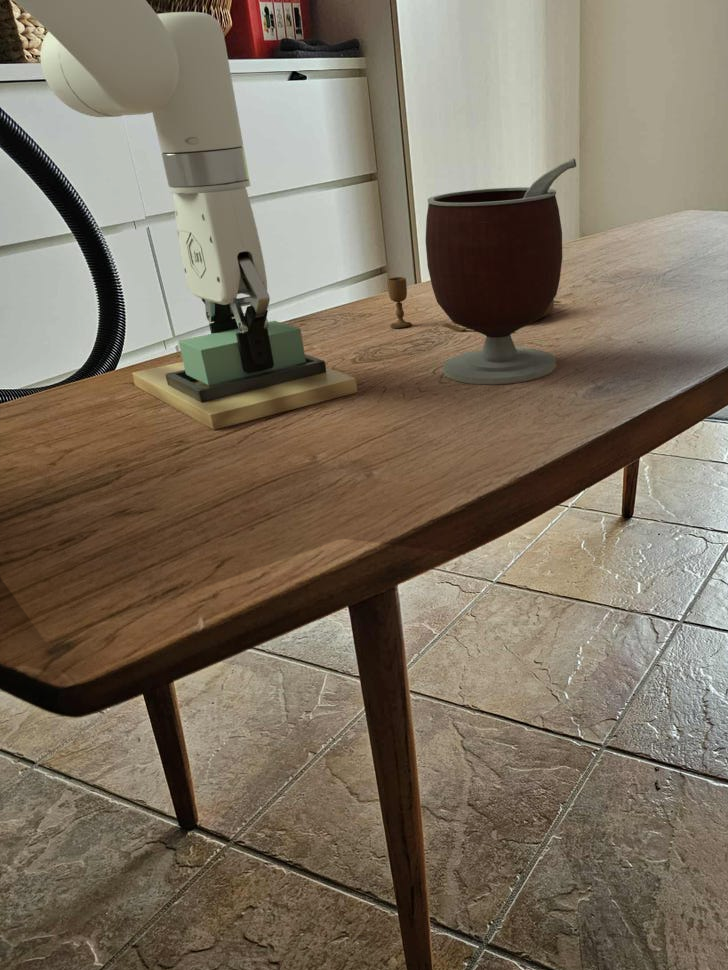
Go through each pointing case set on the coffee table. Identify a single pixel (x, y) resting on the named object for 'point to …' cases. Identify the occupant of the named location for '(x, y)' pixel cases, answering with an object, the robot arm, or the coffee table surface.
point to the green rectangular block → (237, 353)
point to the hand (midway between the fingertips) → (245, 362)
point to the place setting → (399, 294)
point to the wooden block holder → (245, 391)
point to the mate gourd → (496, 272)
